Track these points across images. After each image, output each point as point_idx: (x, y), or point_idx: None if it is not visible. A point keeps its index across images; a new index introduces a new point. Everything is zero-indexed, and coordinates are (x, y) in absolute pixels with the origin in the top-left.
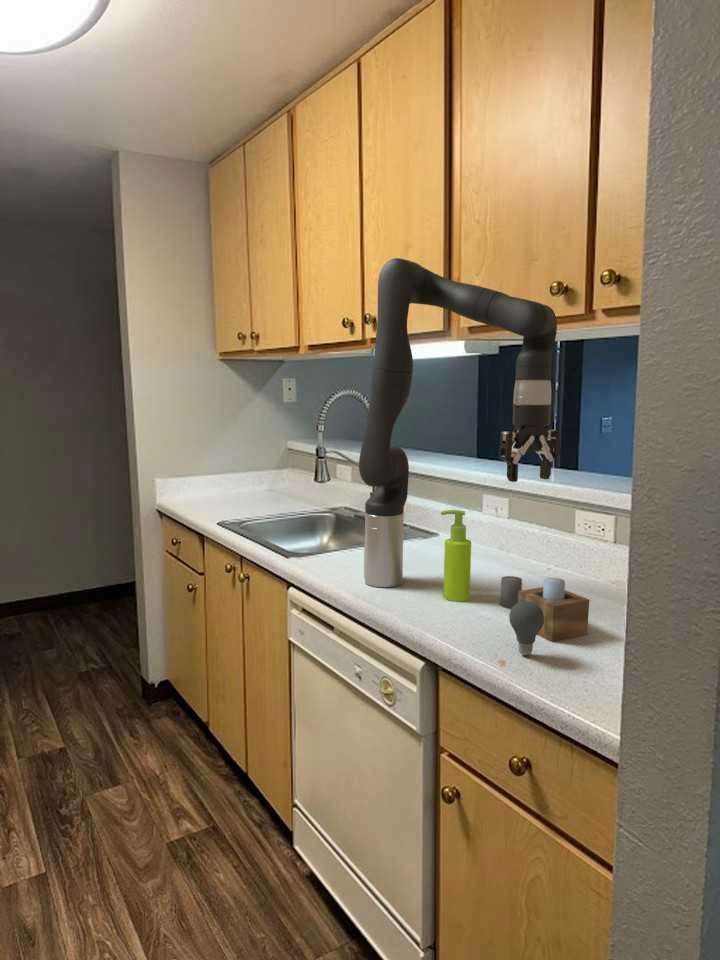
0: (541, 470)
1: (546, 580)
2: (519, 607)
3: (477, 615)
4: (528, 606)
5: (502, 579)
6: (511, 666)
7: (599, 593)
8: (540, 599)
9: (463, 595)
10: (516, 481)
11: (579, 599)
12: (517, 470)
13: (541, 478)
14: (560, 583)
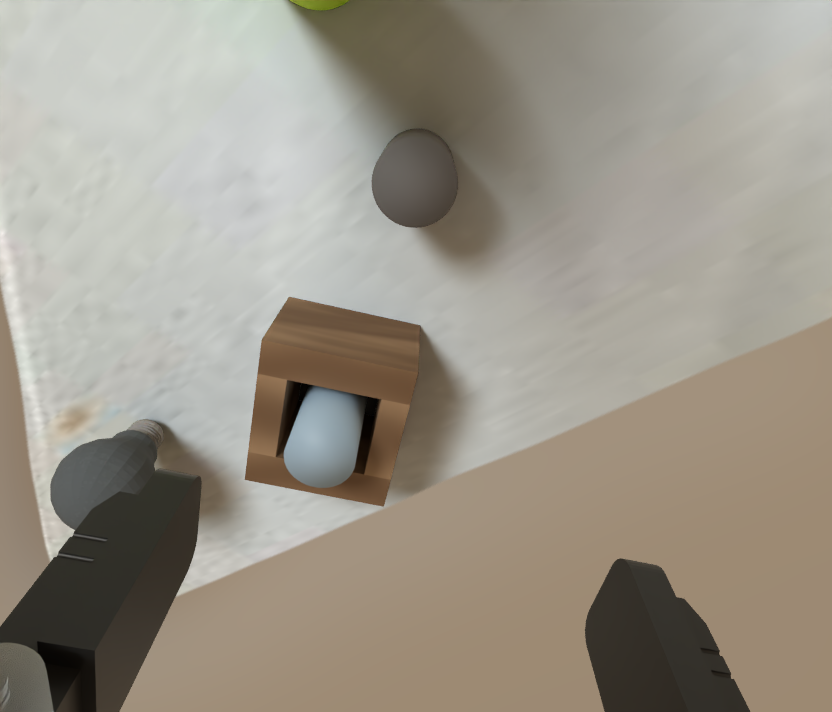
0: (640, 645)
1: (297, 444)
2: (54, 506)
3: (242, 161)
4: (70, 527)
5: (377, 163)
6: (82, 441)
7: (769, 289)
8: (258, 428)
9: (300, 5)
10: (189, 550)
11: (359, 491)
12: (133, 667)
13: (611, 569)
14: (309, 485)
